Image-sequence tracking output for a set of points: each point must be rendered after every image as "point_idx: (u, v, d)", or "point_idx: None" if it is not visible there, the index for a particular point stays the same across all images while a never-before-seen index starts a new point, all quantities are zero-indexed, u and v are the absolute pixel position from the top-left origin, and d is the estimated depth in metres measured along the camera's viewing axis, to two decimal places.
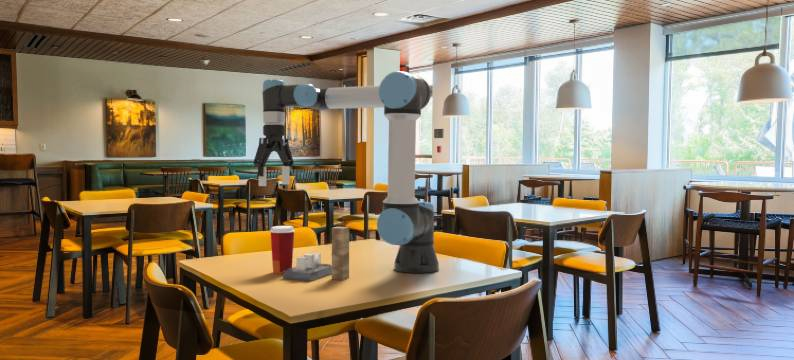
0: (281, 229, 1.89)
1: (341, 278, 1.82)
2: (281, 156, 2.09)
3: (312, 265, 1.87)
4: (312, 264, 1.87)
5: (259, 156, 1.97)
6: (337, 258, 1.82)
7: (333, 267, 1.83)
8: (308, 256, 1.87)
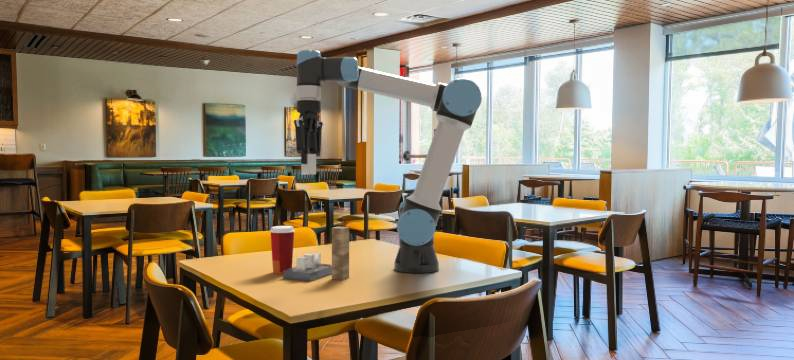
0: (281, 229, 1.89)
1: (341, 278, 1.82)
2: (311, 138, 1.87)
3: (312, 265, 1.87)
4: (312, 264, 1.87)
5: (301, 142, 1.81)
6: (337, 258, 1.82)
7: (333, 267, 1.83)
8: (308, 256, 1.87)
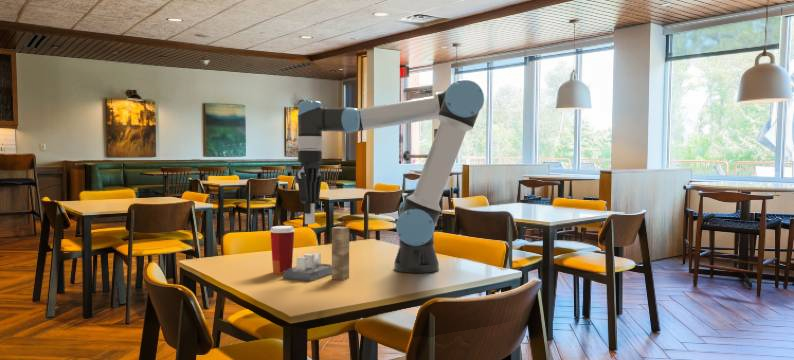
0: (281, 229, 1.89)
1: (341, 278, 1.82)
2: None
3: (312, 265, 1.87)
4: (312, 264, 1.87)
5: (304, 194, 1.83)
6: (337, 258, 1.82)
7: (333, 267, 1.83)
8: (308, 256, 1.87)
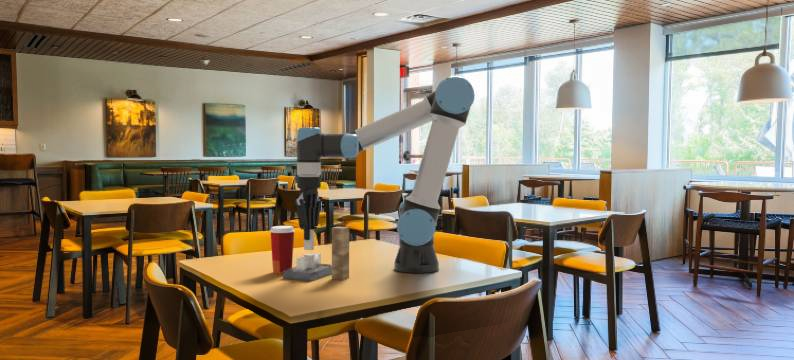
0: (281, 229, 1.89)
1: (341, 278, 1.82)
2: None
3: (312, 265, 1.87)
4: (312, 264, 1.87)
5: (303, 220, 1.83)
6: (337, 258, 1.82)
7: (333, 267, 1.83)
8: (308, 256, 1.87)
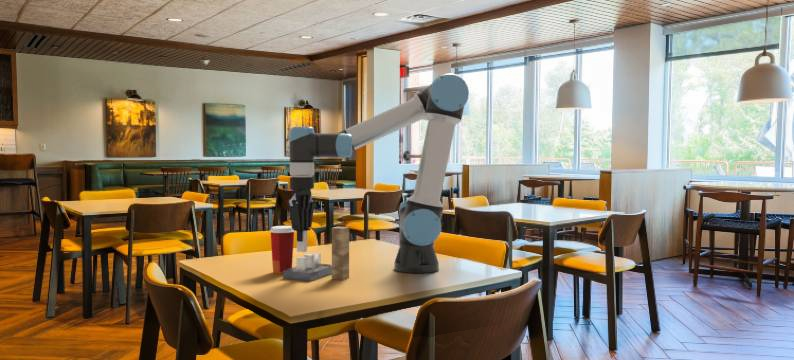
0: (281, 229, 1.89)
1: (341, 278, 1.82)
2: None
3: (312, 265, 1.87)
4: (312, 264, 1.87)
5: (296, 221, 1.79)
6: (337, 258, 1.82)
7: (333, 267, 1.83)
8: (308, 256, 1.87)
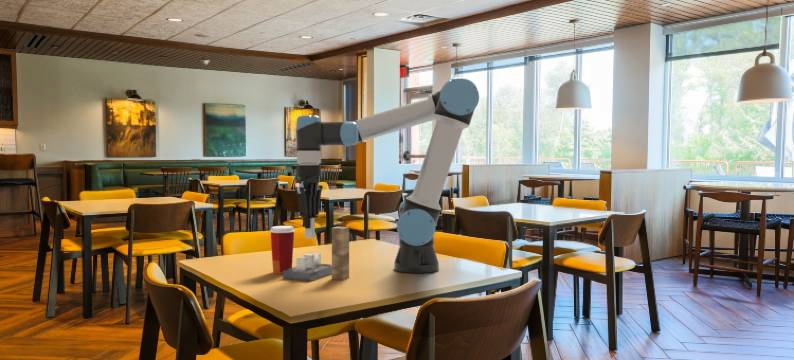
0: (281, 229, 1.89)
1: (341, 278, 1.82)
2: None
3: (312, 265, 1.87)
4: (312, 264, 1.87)
5: (303, 208, 1.83)
6: (337, 258, 1.82)
7: (333, 267, 1.83)
8: (308, 256, 1.87)
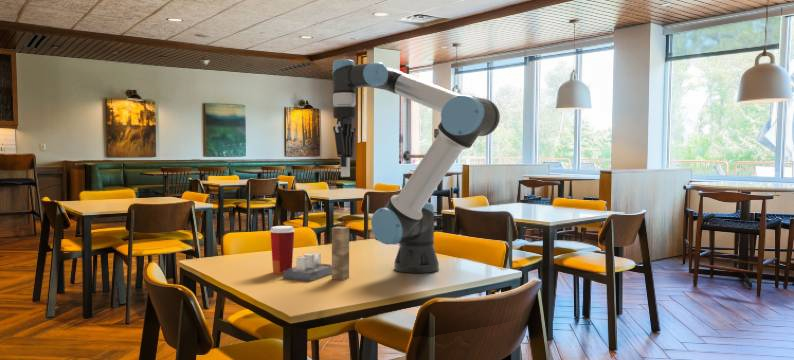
0: (281, 229, 1.89)
1: (341, 278, 1.82)
2: None
3: (312, 265, 1.87)
4: (312, 264, 1.87)
5: (341, 147, 1.94)
6: (337, 258, 1.82)
7: (333, 267, 1.83)
8: (308, 256, 1.87)
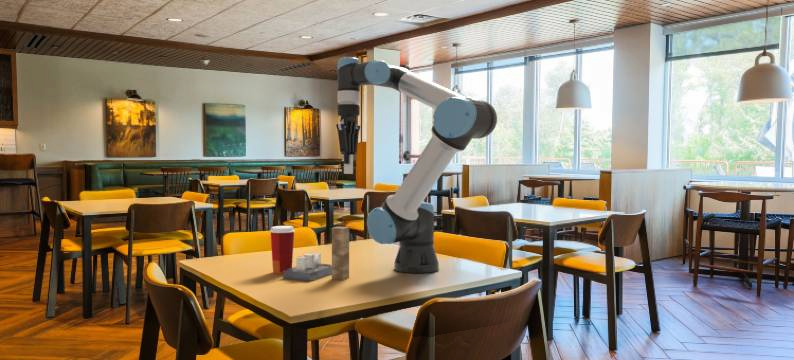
0: (281, 229, 1.89)
1: (341, 278, 1.82)
2: None
3: (312, 265, 1.87)
4: (312, 264, 1.87)
5: (344, 144, 1.95)
6: (337, 258, 1.82)
7: (333, 267, 1.83)
8: (308, 256, 1.87)
